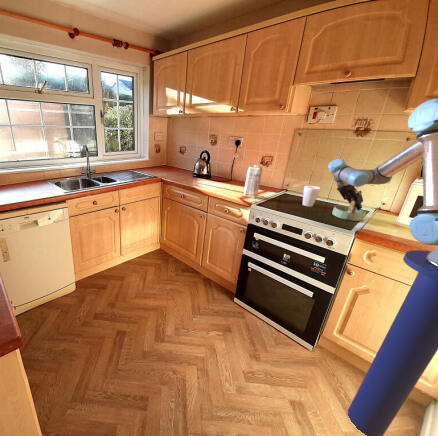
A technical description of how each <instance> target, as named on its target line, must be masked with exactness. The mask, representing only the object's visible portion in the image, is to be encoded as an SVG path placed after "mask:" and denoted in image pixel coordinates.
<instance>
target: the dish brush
mask: <svg viewBox="0 0 438 436" xmlns="http://www.w3.org/2000/svg"><path fill="white" fill-rule="evenodd" d="M354 203H355V202H354V200H353V199H352V200H351V203H349V205H348V206H349V209H348V211H346V212H351V213H358V212H355V210H356V206H355V204H354Z"/></svg>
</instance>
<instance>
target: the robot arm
mask: <svg viewBox="0 0 438 436" xmlns="http://www.w3.org/2000/svg"><path fill="white" fill-rule="evenodd" d="M407 127H408V129H409V130H410V131H412V132H413V133H416V141H413V142H412V143H411V144H409V145H408V146H406V147H405V148H403V149H402V150H401V151H399V152H398V153H396V154H395V155H393V156H391V157H390V158H389V159H387V160H386V161H384V162H383V163H381V164H380V165H378V166H377V167H375V168H373V169H361V168H359V169H358V168H355V167H352V166H350V165H347V162H346V161H345V160H344V159H342V158H336V159H334V160H332V161H330V162H329V163H328V165H327V167H328V171H329V172H330V174H331V176H332V178H333V180H334V181H335V184H336V186H337V188H336V190H337V191H338V192H339V194H340V196H341V197H342V199H343V200H345V201H347V202H348V203H349V204H350V203H351V200H352V199H353V200H354V202H355V203H354V204H355V206H356V208H357V210H358V211H359V210H360V209H362V208H363V206H362V203H363V202H364V198H363V194H362V193H363V192H362V191H363V190H357V189H356V187H357V188H361V187H363V186H365V185H385V184H388V183H390V182H391V180H393V176H394V175H397V174H398V173H399V172H401V171H403V170H405V169H406V168H408V167H410V166H412V165H413V164H415V163H417V162H418V161H420V160H422V201H423V204H422V206H421V207H419V208H418V209H417V215H416V216H414V217H413V218H412V219H411V220H410V221H409V224H408V230H409V233H410V235H411V236H412V238H414V239H415V240H416V241H417V242H419V243H420V244H423V245H427V246H434V247H435V248H434V249H433V250H432V251H431V253H429V254H428V255H427V257H426V261H427V262H428V263H430V264H431V265H433V266H435V267H437V268H438V98H432V99H429V100H426V101H424V102H422V103H421V104H419V105H418V106H417V107H416V108H415V109H414V110H413V111H412V112H411V113H410V115H409V117H408V120H407Z"/></svg>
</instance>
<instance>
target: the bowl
mask: <svg viewBox="0 0 438 436" xmlns="http://www.w3.org/2000/svg"><path fill="white" fill-rule="evenodd" d="M349 206H350V205H342V204H341V205H340V204H339V205H338V204H337V205H334V206H333V209H332V212H331V214H332V215H333V216H335V217H336V218H339V219H342V220H345V221H349V222H351V221H352V222H360V221H364V219H365V216H366V214H367V211H365V209H362V208H361V209H360V210H359V211H358V210H357V208H356V210H355V212H358V213H351V212H346V211H348V209H349Z"/></svg>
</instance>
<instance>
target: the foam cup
mask: <svg viewBox="0 0 438 436" xmlns="http://www.w3.org/2000/svg"><path fill="white" fill-rule="evenodd" d="M321 190H322V188H321V187H320V186H316V185H304V186H303V194H302V204H301V205H302V206H305V207H309V208H310V207H311V208H312V207H313V206H314V205H315V202H316V200H317V198H318V196H319V193H320V192H321Z"/></svg>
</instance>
